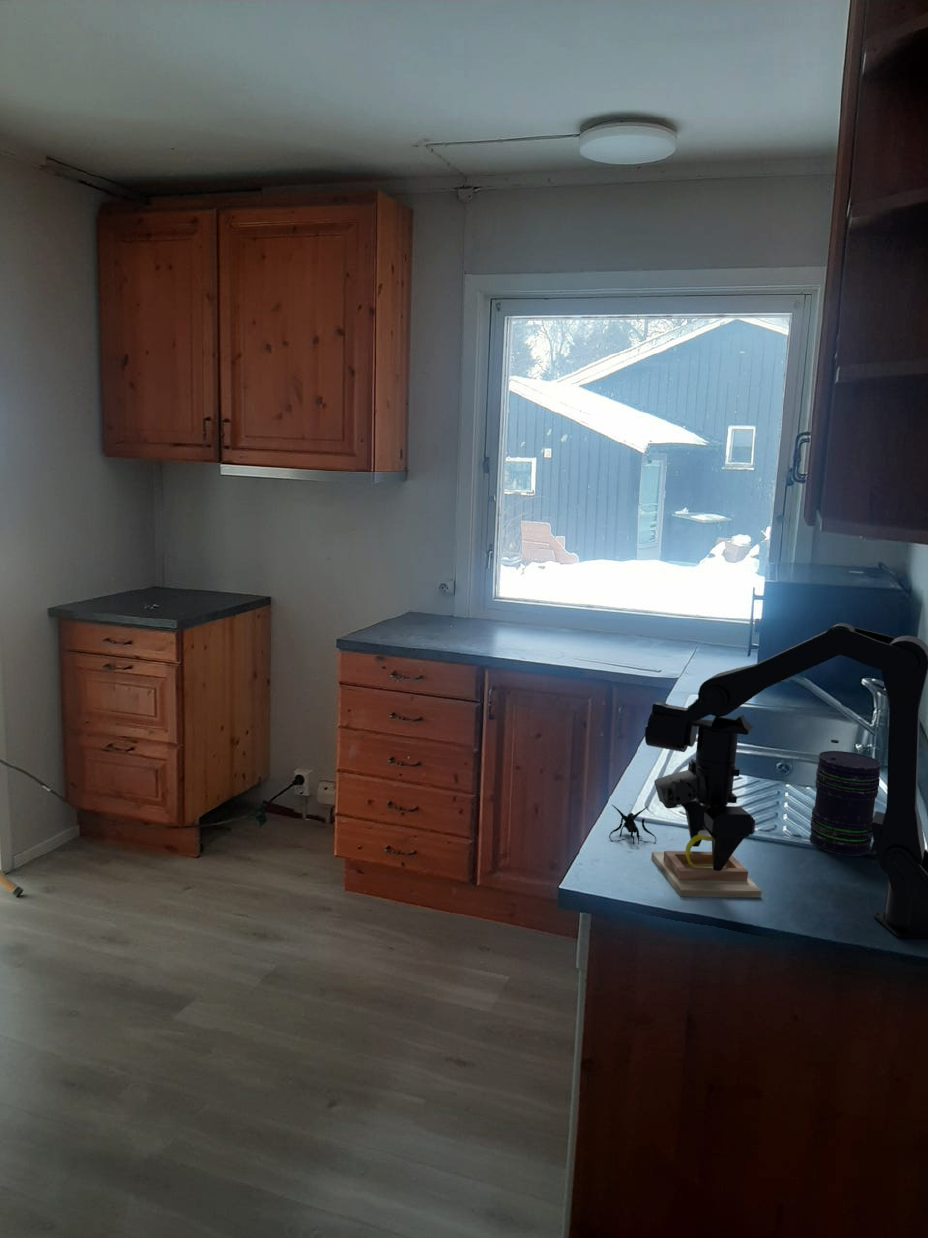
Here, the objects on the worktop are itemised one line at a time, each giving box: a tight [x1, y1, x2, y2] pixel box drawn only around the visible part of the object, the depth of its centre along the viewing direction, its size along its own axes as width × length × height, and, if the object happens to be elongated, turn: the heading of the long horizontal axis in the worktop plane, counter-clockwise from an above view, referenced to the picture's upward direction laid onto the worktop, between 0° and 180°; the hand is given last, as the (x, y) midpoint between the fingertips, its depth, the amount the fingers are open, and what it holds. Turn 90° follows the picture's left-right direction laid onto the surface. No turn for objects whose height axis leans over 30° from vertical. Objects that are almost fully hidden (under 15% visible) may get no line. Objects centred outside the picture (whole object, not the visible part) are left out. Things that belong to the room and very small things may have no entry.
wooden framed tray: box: [650, 850, 763, 898], centre depth 141 cm, size 14×12×2 cm
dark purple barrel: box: [809, 739, 882, 857], centre depth 157 cm, size 10×10×18 cm
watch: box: [684, 830, 713, 868], centre depth 141 cm, size 6×3×6 cm, turn 88°
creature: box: [608, 804, 657, 845], centre depth 155 cm, size 8×5×8 cm
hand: (705, 858), depth 141 cm, fingers open, 9 cm apart
